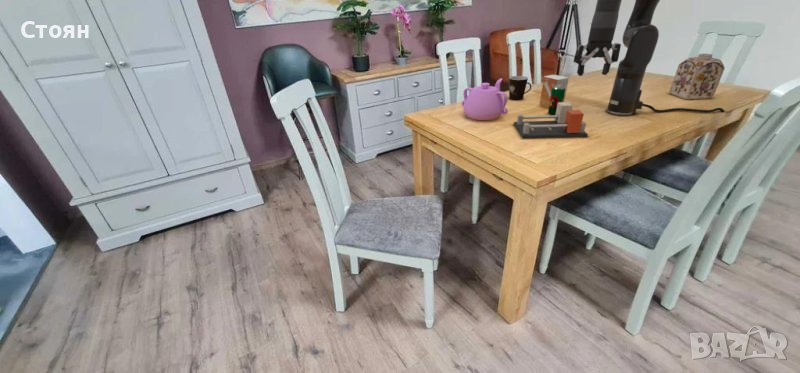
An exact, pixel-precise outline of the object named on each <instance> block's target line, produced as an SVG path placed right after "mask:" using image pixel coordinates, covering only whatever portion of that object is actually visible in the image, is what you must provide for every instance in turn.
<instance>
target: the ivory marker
mask: <svg viewBox="0 0 800 373" xmlns="http://www.w3.org/2000/svg"><path fill="white" fill-rule="evenodd" d="M573 108H574V105H573V104H572V103H571V102H569V101H564V102H558V104H557V110H556V115H559V116H558V118H554V121H557V123H558V124H562V123H565V118H566V113H567V110H573Z"/></svg>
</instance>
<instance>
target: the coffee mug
mask: <svg viewBox="0 0 800 373" xmlns="http://www.w3.org/2000/svg"><path fill="white" fill-rule="evenodd" d="M528 79H529V77H527V76H524V75H513V76H512V75H511V76H509V77H508V99H509V100H510V101H513V102H515V101H517V102H518V101H522V100H524V96H525V94H527V93H529V92H530V91H531V90H532V83H530V82H528V81H529V80H528ZM527 85H529V89H528V90H526V88H527Z"/></svg>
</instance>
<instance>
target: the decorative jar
mask: <svg viewBox="0 0 800 373" xmlns="http://www.w3.org/2000/svg"><path fill="white" fill-rule="evenodd" d="M725 69H726V67H725V65H724V63H723V62H722V60H721V59H720V58H718V59H717V58H715V57H713V53H698V55H697V56H694V57H688V58H687V59H684V60H683V61H681V62H680V63H679V64H678V66H677V69H676V71H675V74H674V77H673V80H672V82H671V86H670V89H669V92H668V94H669V95H672V96H675V97H678V98H680V99H683V100H705V99H714V96H715V93H716V91H717V89H718V87H719V84H720V82H721V79H722V76H723V74H724V71H725Z"/></svg>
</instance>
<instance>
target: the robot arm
mask: <svg viewBox="0 0 800 373" xmlns="http://www.w3.org/2000/svg"><path fill="white" fill-rule="evenodd" d="M660 1H661V0H635V1H634V5H633V9H632V12H631V13H630V16H629V19H628V21H627V24H626V26H625V29H624V31H623V35H622V44H623V46H624V47H625V48H627V49H626V52H625V56H624V57H623V59H622V60H620V61H619V57H620V52H621V47H622V44H621V43H619V42H615V43H612V42H613V40H614V38H615V33H616V28H617V25H618V20H619V13H620V8H621V5H622V0H597V1H596V4H595V10H594V13H593V15H592V16H593V17H592V20H591V23H590V28H589V34H588V39H587V43H586V44H578V45H577V46H576V50H575V54H574V56H573V57H574V58H573V63H575V64H577V69H576V70H577V71H576V74H577V75H578V76H579V77H582V76H583V75H584V71H585V64H586V63H587V62H588V61H590V60H591V59H592V58H593V59H596V58H602V59H603V61H604V63H603V67H602V71H601V75H603V76H607V75H608V74H609V72H610V69H611V65H612V64H613V63H617V62H618V61H619V63H618V66H617V69H616V74H615V77H614V81H613V86H612V89H611V93H610V97H609V101H608V105H607V108H606V112H607V113H608V114H610V115H614V116H622V117H623V116H631V115H636V113H637V110H642V108H643V107H645V108H648V109H650V110H651V111H653V112H655V113H669V112H676V111H680V112H681V111H683V112H694V113H714V112H717V111H719V112H721V113H725V112H726V111H725V109H724V108H722V107H716V108H713V109H697V108H685V107H674V108H667V109H656V108H655V107H654V106H652V105H650V104H646V103H644V102H643V101H641V100H640V99H641V95H642V92H643V89H641V87H642V83H643V81H644V77H645V75H646V70H647V67H648V65H649V64H650V63H651V61H652V58H653V56H654V53H655V51H656V47H657V44H658V41H659V35H660V32H659V28H658V27H657V26H656V25H654V24H652V20H653V18H654V15H655V11H656V9H657V7H658V4H659V3H660ZM610 50H612V51H611V54H610V53H609V51H610ZM585 51H586V52H585ZM583 52H585V53H584V54H583Z"/></svg>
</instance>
